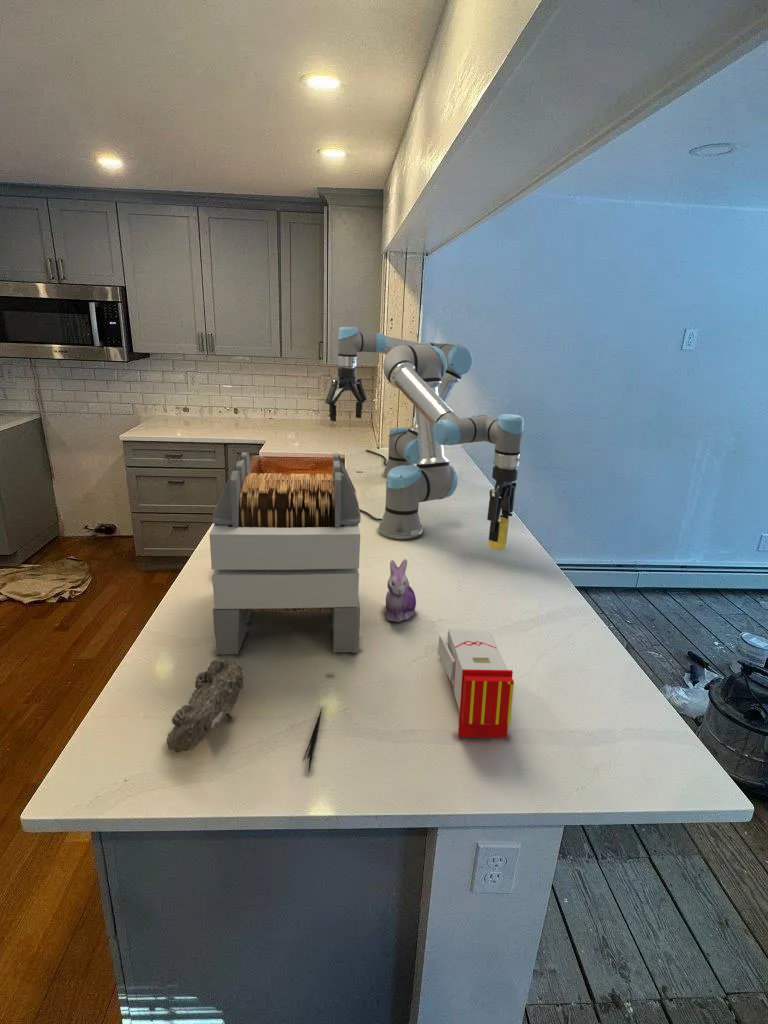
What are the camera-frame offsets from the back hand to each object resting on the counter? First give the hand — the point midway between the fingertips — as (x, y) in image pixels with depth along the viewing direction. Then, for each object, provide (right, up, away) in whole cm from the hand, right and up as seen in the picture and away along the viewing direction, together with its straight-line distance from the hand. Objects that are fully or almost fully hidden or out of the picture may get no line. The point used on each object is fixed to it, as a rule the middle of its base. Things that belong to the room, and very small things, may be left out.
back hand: (346, 419), depth 236 cm
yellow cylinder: (+52, -50, -56) cm, 91 cm away
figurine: (+20, -65, -88) cm, 112 cm away
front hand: (+52, -47, -57) cm, 90 cm away
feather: (+3, -78, -127) cm, 149 cm away
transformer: (-8, -65, -92) cm, 113 cm away
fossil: (-17, -78, -128) cm, 150 cm away
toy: (+34, -76, -117) cm, 144 cm away
